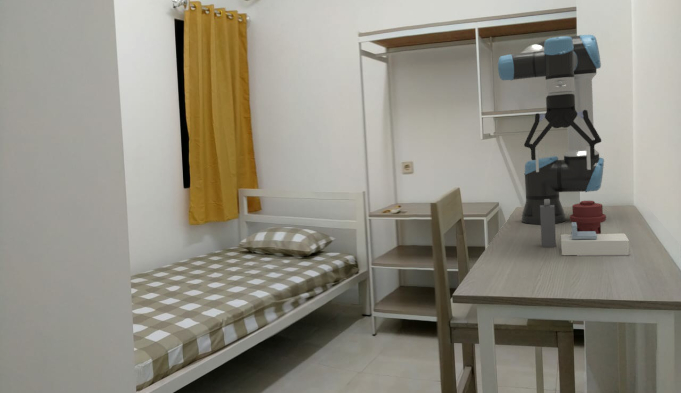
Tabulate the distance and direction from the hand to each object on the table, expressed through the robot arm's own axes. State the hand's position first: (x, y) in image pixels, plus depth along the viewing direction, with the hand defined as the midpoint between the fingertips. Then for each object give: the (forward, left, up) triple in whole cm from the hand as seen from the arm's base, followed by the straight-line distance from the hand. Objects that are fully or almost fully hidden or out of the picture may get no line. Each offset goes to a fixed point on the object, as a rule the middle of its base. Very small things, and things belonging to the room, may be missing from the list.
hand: (562, 170), depth 173 cm
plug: (-8, -5, -23) cm, 25 cm away
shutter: (+1, +5, -19) cm, 19 cm away
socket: (+1, +7, -23) cm, 24 cm away
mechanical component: (-13, +7, -23) cm, 27 cm away
